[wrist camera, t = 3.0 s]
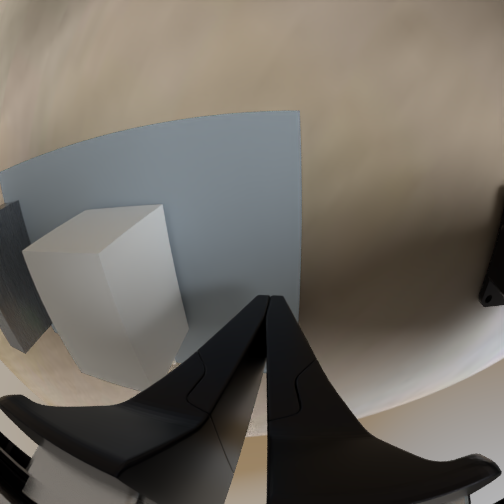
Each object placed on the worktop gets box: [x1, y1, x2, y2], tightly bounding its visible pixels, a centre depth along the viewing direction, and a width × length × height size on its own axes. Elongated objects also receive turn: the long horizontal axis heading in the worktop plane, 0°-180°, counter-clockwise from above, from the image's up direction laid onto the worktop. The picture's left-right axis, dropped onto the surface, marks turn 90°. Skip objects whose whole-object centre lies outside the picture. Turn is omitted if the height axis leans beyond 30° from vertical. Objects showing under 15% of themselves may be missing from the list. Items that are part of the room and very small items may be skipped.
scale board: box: [0, 111, 302, 373], centre depth 12 cm, size 17×12×2 cm
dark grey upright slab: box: [0, 200, 52, 354], centre depth 12 cm, size 2×8×4 cm, turn 4°
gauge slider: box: [22, 204, 189, 392], centre depth 10 cm, size 4×9×4 cm, turn 4°
